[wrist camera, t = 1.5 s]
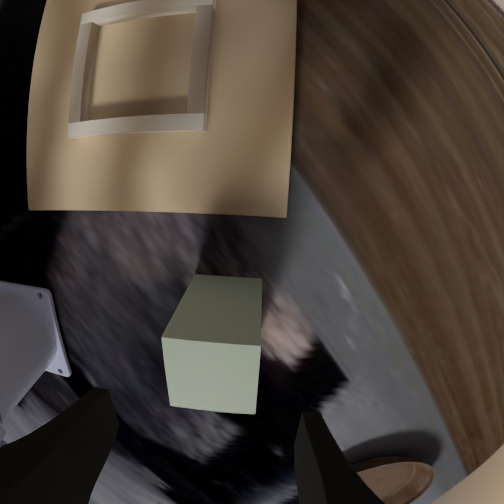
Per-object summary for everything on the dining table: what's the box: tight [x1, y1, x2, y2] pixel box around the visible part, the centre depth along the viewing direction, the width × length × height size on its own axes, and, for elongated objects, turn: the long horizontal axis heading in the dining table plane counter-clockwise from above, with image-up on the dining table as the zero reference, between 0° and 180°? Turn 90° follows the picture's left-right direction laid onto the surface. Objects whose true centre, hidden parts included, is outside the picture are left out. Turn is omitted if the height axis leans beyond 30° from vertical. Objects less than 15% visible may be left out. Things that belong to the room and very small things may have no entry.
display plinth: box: [27, 0, 297, 218], centre depth 14 cm, size 16×16×2 cm
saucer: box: [351, 456, 435, 504], centre depth 25 cm, size 15×15×3 cm
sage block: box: [162, 274, 262, 414], centre depth 16 cm, size 4×4×7 cm
